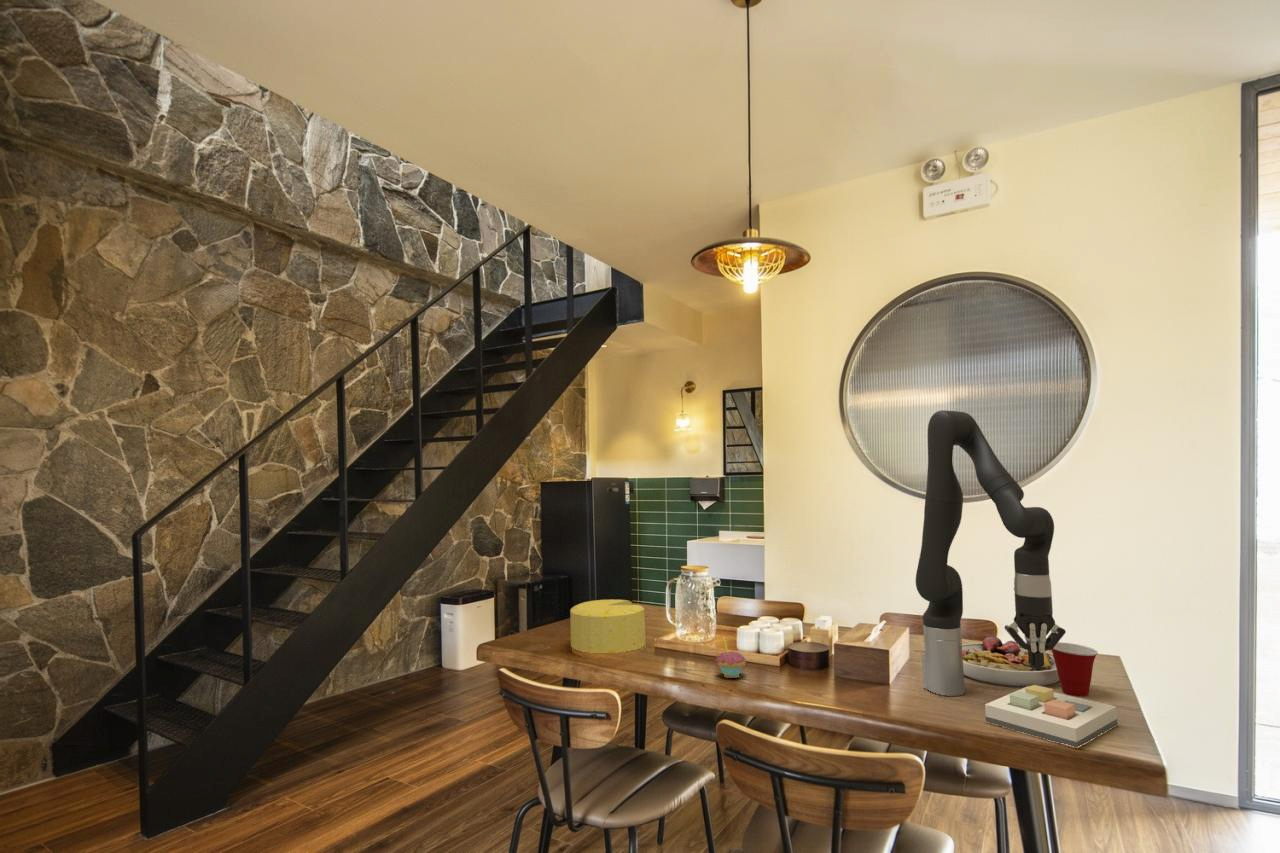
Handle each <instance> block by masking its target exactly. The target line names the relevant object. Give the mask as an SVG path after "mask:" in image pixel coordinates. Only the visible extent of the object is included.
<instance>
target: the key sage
mask: <svg viewBox="0 0 1280 853" xmlns="http://www.w3.org/2000/svg"><path fill="white" fill-rule="evenodd" d="M1017 691H1018V690H1017ZM1015 692H1016V691H1015ZM1012 693H1013V692H1012ZM1010 694H1011V693H1010ZM1010 705H1012V706H1015V707H1019V708H1023V709H1027V710H1033V709H1035V708H1037V707H1039V696H1037V695H1033V694H1029V693H1025V692H1021V691H1018V692H1016V693H1013V694H1011V695H1010Z"/></svg>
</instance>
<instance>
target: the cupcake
mask: <svg viewBox="0 0 1280 853" xmlns="http://www.w3.org/2000/svg"><path fill="white" fill-rule="evenodd" d="M722 636H723V639H722V640H723V646H724V649H725V650H724V651H723V652H722V653H720V654H719V655H717V657H716V658H715V662H716V665H718V667H720V670H721V674H722V673H723V674H725V675H730V676H736V675H739V674H740V675H741V671H742V668H743V667H745V666H746V663H747V661H746V658H745V657H744V656H743V654H741V653H740V652H737V651H729V648H728V645H727V640H726V637H725V635H724V634H722ZM723 674H722V675H723Z"/></svg>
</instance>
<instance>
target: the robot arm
mask: <svg viewBox="0 0 1280 853" xmlns="http://www.w3.org/2000/svg"><path fill="white" fill-rule="evenodd" d="M954 446H955V447H956V446H958V447H960V448H961V449H962V450H963V451H964V452H965V453H966V454H967V455H968V456H969V457H970V459H971V461H972V463H973V466H974V471H975V475H976V478H977V481H978V483H979V485H980V486H981V488H982V489H983V490H984V492H985V493H986V494H987V495H988V497H989V499H990V500H991V501H992V502H993V503H994V505H995V507H996V510H997V513H998V515H999V517H1000V519H1001V523H1002V524H1003V526H1004V528H1005V529H1006V530H1007V532H1009V533H1010V534H1012V536H1014V537H1017V538H1020V539H1021V538H1022V539H1024V542H1023V544H1022V545H1021V546H1019V547H1018V548H1016V549H1015V550H1014V555H1013V561H1014V565H1013V566H1014V579H1013V585H1014V586H1013V591H1014V603H1015V604H1014V607H1015V609H1014V610H1015V616H1014V617H1013V622H1012V623H1010V625H1008V624H1007V625H1004V630H1005V631H1006V632H1007V633H1008V635H1009V636H1010V637H1011V638H1012V639H1013V641H1014V642H1016V643H1017V644H1018V645H1019V646H1020V647H1022V648H1023V649H1025V650H1028V662H1029V664H1030V665H1031V666H1032V667H1033V668H1034V669H1042V666H1044V652H1048V651H1052V649H1053V648H1054V647H1055V645H1056V644H1057V643H1058V642H1060V640H1061V639H1062V638H1063V637H1064V635H1065V634H1066V632H1067V630H1066V629H1065V628H1062V627H1060V626H1059V625H1057V624H1056V621H1055V618H1054V616H1053V614H1054V612H1053V610H1054V609H1053V596H1052V593H1053V592H1052V583H1051V582H1052V581H1051V577H1050V564H1049V562H1050V561H1049V555H1050V552H1051V548H1052V544H1053V543H1052V542H1053V539H1054V533H1055V523H1054V518H1053V517H1052V514H1051V513H1050V512H1049V511H1048V510H1047V509H1045V508H1043V507H1041V506H1039V507H1038V506H1032V507H1031V506H1029V507H1025V506H1024V505H1023V504H1022V500H1023V499H1024V497H1025V492H1024V490H1023V489H1022V487H1021V486H1020V485H1019V483H1018V482H1017V481H1016V480H1015V478H1013V476H1012V475H1011V473H1009V471H1008V470H1007V469H1006V467H1004V465H1003V464H1002V463H1001V461H1000V460H999V458H998V457H997V455H996V454H995V452H994V450H993V449H992V447H991V445H990V443H989V442H988V440H987V439H986V437H985V434H984V433H983V431H982V429H981V428H980V426H979V424H978V423H977V421H976V420H975V419H974V417H973V416H972V415H971V414H969V413H967V412H964V411H956V410H946V409H945V410H938V411H936V412H934V413H933V414H932V416H931V417H929V421H928V424H927V474H926V475H927V478H926V489H925V490H926V491H925V496H924V497H925V499H924V508H923V509H924V510H923V511H924V512H923V513H924V514H923V515H924V516H923V524H922V525H923V526H922V539H921V548H920V553H919V558H918V563H917V569H916V573H915V586H916V590H917V593H918V594H919V596H920V597H921V598H922V599H924V600H925V601H928V606H927V609H926V610H925V611H924V612H923V615H922V624H923V638H924V639H923V640H924V641H923V642H924V644H923V645H924V651H923V652H921V665H922V683H923V685H922V686H923V689H924V688H925V689H924V690H929V691H928V692H930V691H931V692H930V693H932V692H933V694H935V693H936V694H935V695H939V694H940V695H941V696H945V695H946V696H947V697H958V696H963V695H965V692H966V691H965V690H966V689H965V675H964V670H963V654H962V645H963V644H962V642H963V640H962V639H963V638H962V628H961V625H962V624H961V620H962V617H963V614H964V604H963V603H964V602H963V600H964V597H963V594H964V593H963V582H962V578H961V576H960V575H961V574H959V572H958V570H956V569H955V568H954V567H953V566H951V565H948V558H949V553H950V549H951V546H952V543H953V541H954V538H956V535H957V532H958V530H959V528H960V525H961V522H962V516H963V508H964V507H963V505H964V504H963V503H964V495H963V491H962V486H961V484H960V482H959V480H958V477H957V474H956V472H955V468H954V463H953V457H954V455H953V454H954ZM1019 630H1020V631H1021V632H1022V634H1023V635H1024V639H1025V640H1024V639H1023V638H1022V637H1021V636H1020V635H1019ZM1048 634H1049V635H1048Z"/></svg>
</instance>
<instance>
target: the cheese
mask: <svg viewBox="0 0 1280 853" xmlns="http://www.w3.org/2000/svg"><path fill="white" fill-rule="evenodd" d="M645 611H646V609H645V607H644V606H642V605H640V604H633V602H632V601H631V600H626V599H598V600H596V599H595V600H589V601H584V602H581V603H579V604H575V605H574V606H572V607H571V608H570V610H569V612H570V613H569V614H570V617H569V618H570V648H571V647H572V648H574V649H576V650H579V651H582V652H589V653H618V652H626V651H631V650H636V649H639V648H641V647H643V646H644V645H645V646H646V620H645V618H646V617H645V616H646V615H645V614H646V613H645Z"/></svg>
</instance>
